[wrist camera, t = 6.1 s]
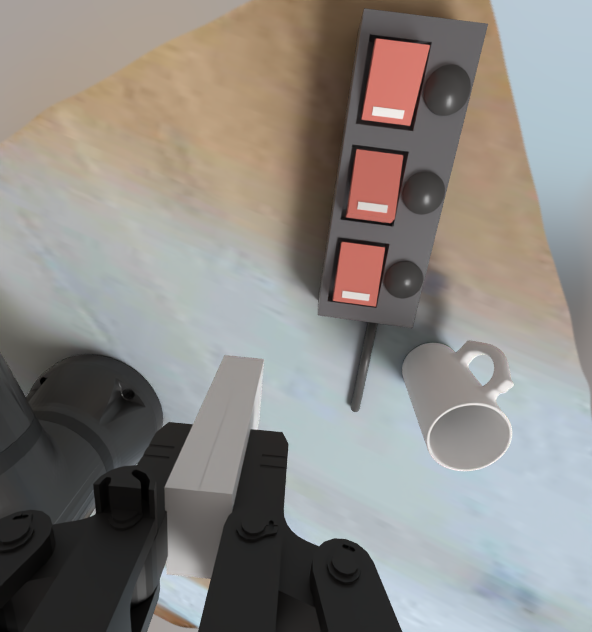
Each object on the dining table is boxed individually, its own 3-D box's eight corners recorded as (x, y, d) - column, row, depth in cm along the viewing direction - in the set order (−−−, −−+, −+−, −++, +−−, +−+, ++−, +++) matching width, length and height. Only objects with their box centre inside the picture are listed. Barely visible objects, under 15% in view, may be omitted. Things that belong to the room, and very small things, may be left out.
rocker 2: (346, 217, 33) (348, 212, 32) (354, 156, 33) (356, 148, 31) (390, 223, 33) (394, 218, 31) (399, 161, 33) (403, 154, 31)
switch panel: (302, 401, 45) (301, 426, 41) (358, 28, 32) (364, 6, 28) (379, 412, 45) (385, 437, 41) (467, 41, 32) (489, 22, 28)
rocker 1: (360, 116, 32) (361, 119, 30) (374, 38, 29) (376, 38, 27) (407, 122, 32) (410, 125, 30) (426, 45, 29) (430, 45, 27)
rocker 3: (332, 299, 36) (333, 300, 35) (340, 242, 35) (341, 241, 34) (373, 305, 36) (375, 306, 34) (382, 248, 35) (385, 247, 34)
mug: (434, 404, 44) (472, 484, 33) (386, 375, 44) (409, 446, 32) (496, 337, 41) (562, 400, 30) (446, 304, 40) (494, 356, 29)
